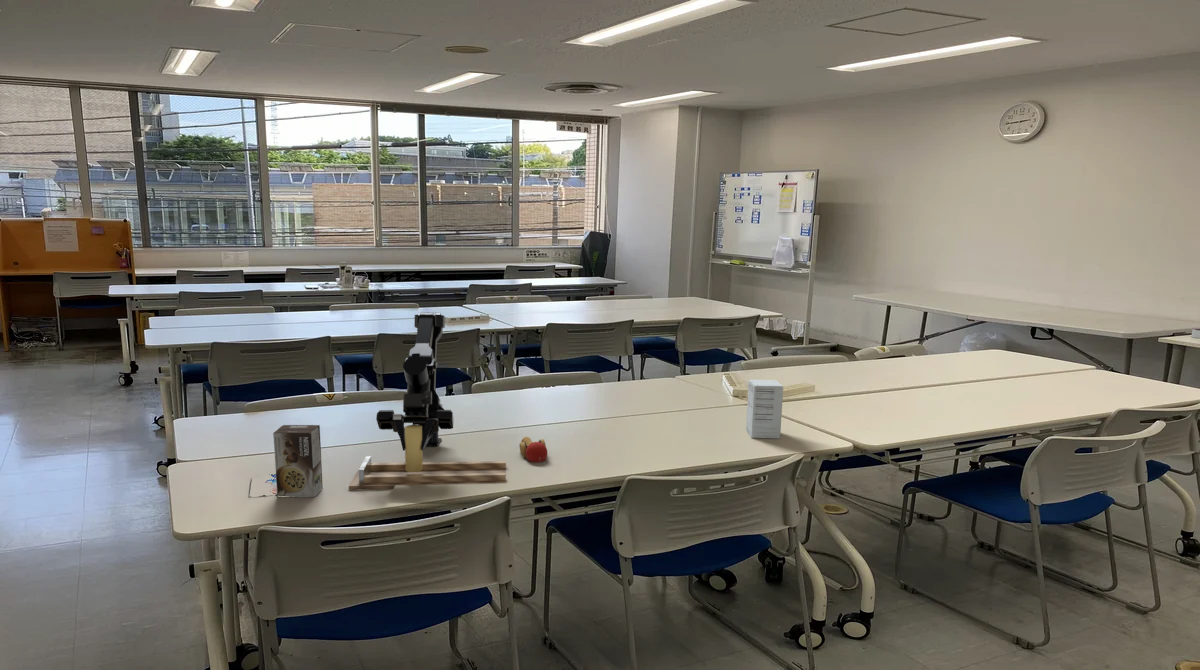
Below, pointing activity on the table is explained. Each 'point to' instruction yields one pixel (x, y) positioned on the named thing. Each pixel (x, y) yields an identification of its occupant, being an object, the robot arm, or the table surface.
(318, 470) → the coffee box
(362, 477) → the stop
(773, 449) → the table surface
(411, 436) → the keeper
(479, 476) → the track
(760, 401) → the supplement box
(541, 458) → the kendama
